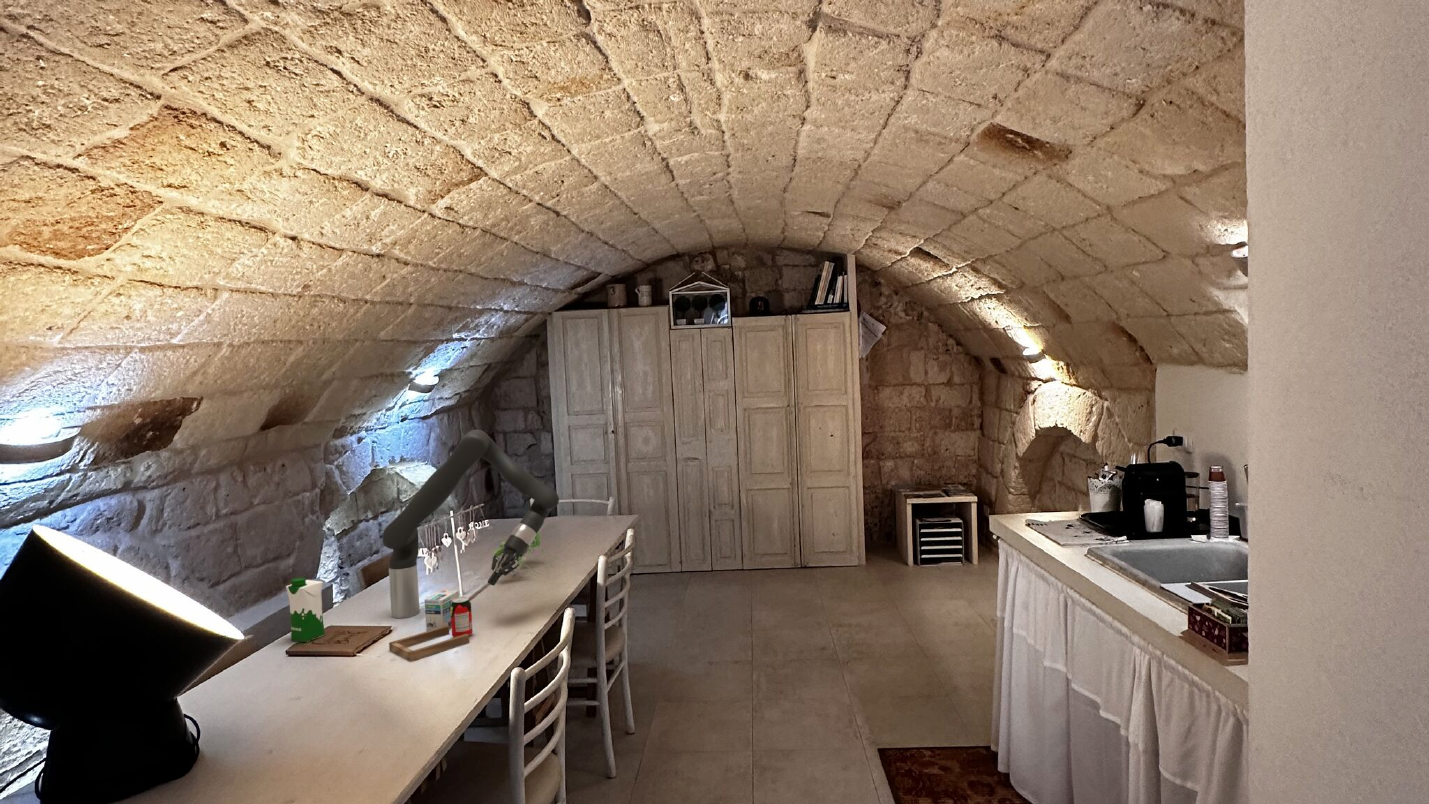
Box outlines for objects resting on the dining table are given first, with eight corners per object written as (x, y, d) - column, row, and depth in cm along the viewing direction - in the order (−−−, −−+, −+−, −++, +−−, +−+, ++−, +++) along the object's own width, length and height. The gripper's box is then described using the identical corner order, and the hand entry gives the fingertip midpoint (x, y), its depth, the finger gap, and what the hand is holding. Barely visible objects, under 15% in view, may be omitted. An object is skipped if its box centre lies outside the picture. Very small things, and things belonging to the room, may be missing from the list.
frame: (389, 650, 235) (389, 642, 235) (447, 632, 249) (446, 625, 249) (410, 661, 226) (410, 653, 226) (469, 642, 240) (469, 634, 240)
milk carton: (286, 641, 247) (282, 580, 246) (311, 631, 255) (307, 572, 254) (305, 644, 243) (300, 582, 242) (329, 634, 251) (326, 574, 250)
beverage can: (475, 632, 249) (473, 596, 248) (469, 639, 243) (467, 602, 242) (455, 633, 249) (453, 596, 248) (449, 640, 242) (447, 603, 242)
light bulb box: (444, 632, 250) (442, 600, 249) (425, 631, 251) (423, 599, 251) (461, 621, 260) (459, 590, 260) (443, 620, 262) (441, 589, 261)
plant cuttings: (549, 577, 334) (507, 548, 335) (570, 546, 332) (529, 516, 333) (522, 603, 299) (476, 570, 300) (546, 569, 297) (500, 535, 298)
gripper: (502, 531, 264) (472, 574, 255) (524, 536, 255) (493, 581, 246) (516, 543, 268) (487, 586, 260) (538, 548, 259) (509, 593, 251)
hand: (490, 583), depth 253 cm, fingers closed
